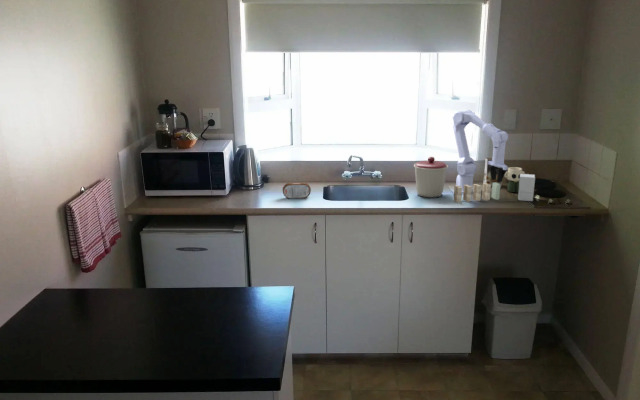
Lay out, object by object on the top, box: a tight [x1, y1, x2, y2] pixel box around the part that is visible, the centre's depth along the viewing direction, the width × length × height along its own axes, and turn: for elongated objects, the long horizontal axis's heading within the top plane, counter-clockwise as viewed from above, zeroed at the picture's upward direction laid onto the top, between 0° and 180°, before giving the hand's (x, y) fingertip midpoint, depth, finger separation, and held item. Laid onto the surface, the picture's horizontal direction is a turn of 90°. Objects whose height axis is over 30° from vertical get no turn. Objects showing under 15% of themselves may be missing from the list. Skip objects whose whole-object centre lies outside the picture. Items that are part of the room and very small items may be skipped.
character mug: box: [504, 166, 526, 193], centre depth 283 cm, size 11×7×13 cm, turn 93°
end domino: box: [490, 182, 501, 200], centre depth 271 cm, size 4×2×8 cm, turn 10°
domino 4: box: [481, 183, 492, 201], centre depth 270 cm, size 4×2×8 cm, turn 14°
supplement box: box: [517, 173, 536, 202], centre depth 268 cm, size 7×7×13 cm
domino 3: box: [471, 183, 482, 202], centre depth 269 cm, size 4×2×8 cm, turn 15°
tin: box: [282, 182, 312, 199], centre depth 276 cm, size 15×3×8 cm, turn 94°
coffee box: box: [482, 157, 503, 188], centre depth 295 cm, size 9×6×16 cm
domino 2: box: [462, 185, 473, 203], centre depth 267 cm, size 4×2×8 cm, turn 15°
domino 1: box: [453, 185, 463, 204], centre depth 266 cm, size 4×2×8 cm, turn 15°
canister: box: [413, 156, 449, 198], centre depth 277 cm, size 18×18×21 cm
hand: (496, 180), depth 270 cm, fingers open, 5 cm apart
